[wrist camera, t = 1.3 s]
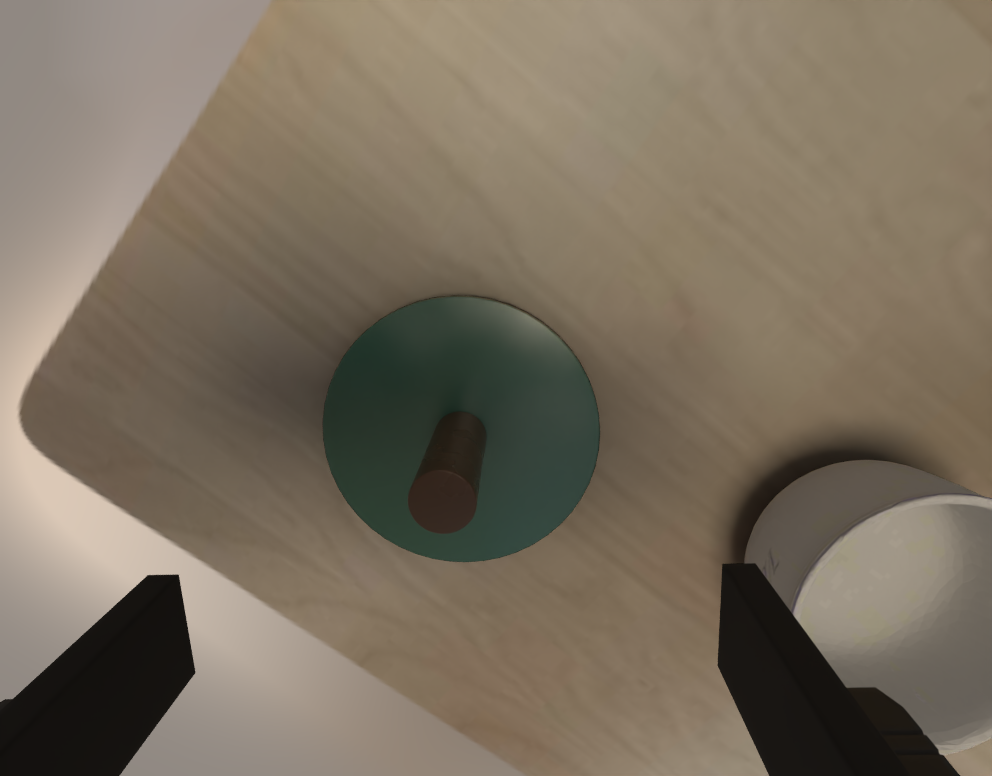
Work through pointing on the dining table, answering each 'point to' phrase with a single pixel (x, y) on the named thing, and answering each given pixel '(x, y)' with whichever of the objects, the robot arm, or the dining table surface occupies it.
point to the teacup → (891, 587)
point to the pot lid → (461, 428)
